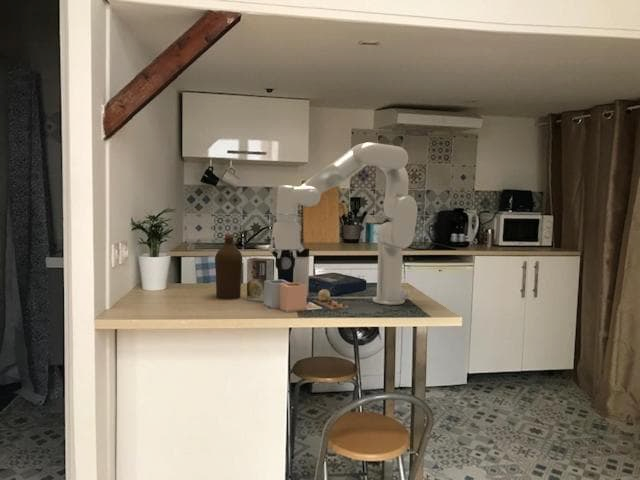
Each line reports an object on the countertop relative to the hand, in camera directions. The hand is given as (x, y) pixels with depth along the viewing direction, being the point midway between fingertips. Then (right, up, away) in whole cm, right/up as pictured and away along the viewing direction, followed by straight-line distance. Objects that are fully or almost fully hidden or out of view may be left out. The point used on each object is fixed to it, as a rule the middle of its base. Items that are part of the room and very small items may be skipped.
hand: (285, 268), depth 186 cm
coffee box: (-10, -13, +11) cm, 20 cm away
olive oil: (-23, -13, +14) cm, 30 cm away
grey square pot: (-3, -14, +1) cm, 14 cm away
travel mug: (+5, -13, +18) cm, 23 cm away
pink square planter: (+3, -15, -4) cm, 15 cm away
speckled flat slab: (+17, -14, +5) cm, 23 cm away
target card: (+9, -14, +1) cm, 17 cm away
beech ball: (+15, -11, +8) cm, 20 cm away
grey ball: (0, +2, 0) cm, 2 cm away
